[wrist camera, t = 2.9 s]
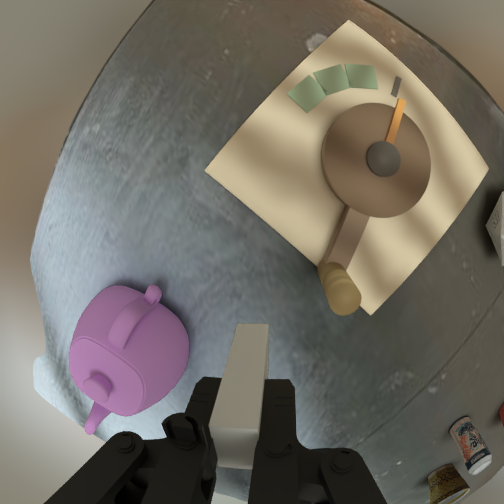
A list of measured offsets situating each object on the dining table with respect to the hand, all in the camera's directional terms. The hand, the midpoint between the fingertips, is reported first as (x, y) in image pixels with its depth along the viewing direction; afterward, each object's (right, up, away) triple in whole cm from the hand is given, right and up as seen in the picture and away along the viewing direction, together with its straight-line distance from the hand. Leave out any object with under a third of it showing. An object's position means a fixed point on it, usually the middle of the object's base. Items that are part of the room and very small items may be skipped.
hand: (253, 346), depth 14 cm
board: (+11, +13, +11) cm, 20 cm away
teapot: (-14, -6, +19) cm, 24 cm away
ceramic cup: (+45, -47, +24) cm, 69 cm away
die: (+31, +9, +10) cm, 33 cm away
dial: (+10, +10, +10) cm, 18 cm away
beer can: (+38, -27, +19) cm, 50 cm away
